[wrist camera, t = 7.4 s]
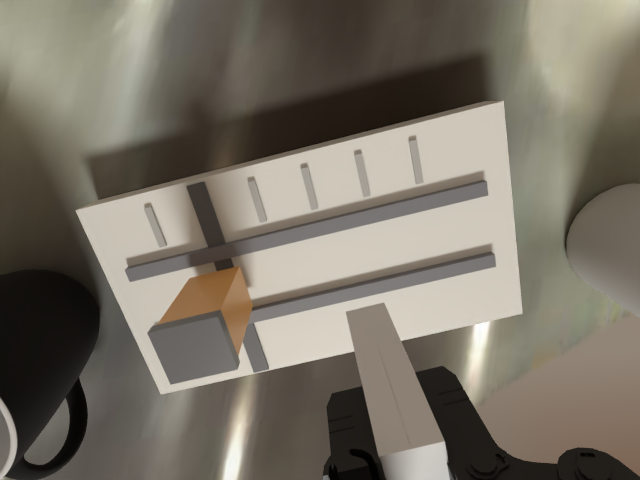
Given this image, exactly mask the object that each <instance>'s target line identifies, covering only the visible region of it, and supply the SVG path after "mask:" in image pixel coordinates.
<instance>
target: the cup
mask: <svg viewBox="0 0 640 480" xmlns="http://www.w3.org/2000/svg"><path fill="white" fill-rule="evenodd" d="M567 257H568V260H569V263H570V266H571V268H572V269H573V271H574V272H575V273H576V274H577V276H578V277H579V278H581V279H582V280H583V281H585V282H586V283H588V284H589V285H590V286H592V287H593V288H595V289H596V290H598V291H599V292H601V293H603V294H604V295H606V296H607V297H609V298H610V299H612V300H613V301H615V302H616V303H618V304H619V305H621V306H623V307H624V308H626V309H627V310H629V311H630V312H632V313H633V314H635V315H636V316H638V317H639V318H640V184H638V183H629V184H625V185H620V186H616V187H613V188H611V189H609V190H607V191H605V192H603V193H601V194H599V195H597V196H596V197H595V198H593V199H592V200H591V201H589V202H588V203H587V204H586V205H585V206H584V207H583V208H582V209H581V210H580V212H579V213H578V214H577V215H576V217H575V219H574V221H573V223H572V224H571V226H570V229H569V233H568V236H567Z"/></svg>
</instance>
